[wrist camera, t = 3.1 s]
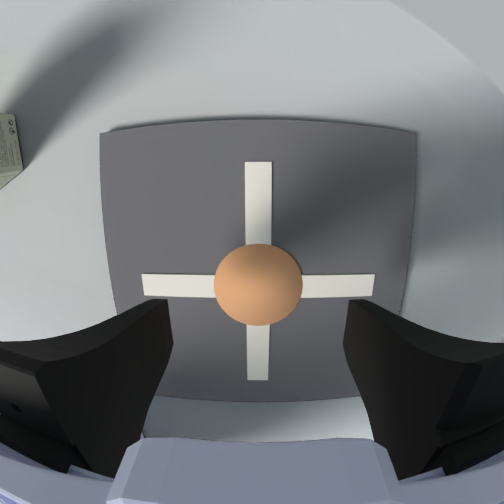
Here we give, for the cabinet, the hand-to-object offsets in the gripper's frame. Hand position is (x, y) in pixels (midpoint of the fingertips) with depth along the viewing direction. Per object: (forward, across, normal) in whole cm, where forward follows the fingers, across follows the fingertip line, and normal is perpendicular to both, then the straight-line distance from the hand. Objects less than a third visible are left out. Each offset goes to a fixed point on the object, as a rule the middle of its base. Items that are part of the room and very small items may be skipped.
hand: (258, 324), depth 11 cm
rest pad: (+4, 0, 0) cm, 4 cm away
